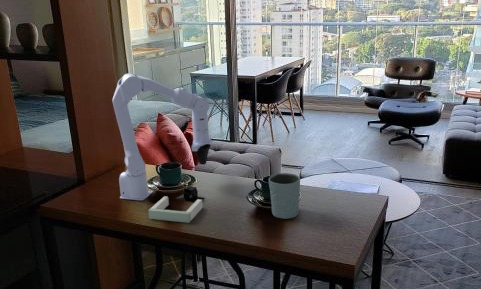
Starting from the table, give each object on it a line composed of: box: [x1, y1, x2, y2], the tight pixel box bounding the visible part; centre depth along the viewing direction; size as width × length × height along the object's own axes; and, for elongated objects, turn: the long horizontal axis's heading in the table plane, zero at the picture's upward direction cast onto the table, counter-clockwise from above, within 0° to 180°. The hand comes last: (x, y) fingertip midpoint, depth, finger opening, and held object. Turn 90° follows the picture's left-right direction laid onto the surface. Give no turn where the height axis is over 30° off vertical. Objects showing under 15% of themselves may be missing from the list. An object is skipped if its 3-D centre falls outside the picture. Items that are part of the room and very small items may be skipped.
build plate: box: [175, 185, 206, 204], centre depth 166 cm, size 12×7×5 cm, turn 56°
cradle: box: [148, 195, 203, 224], centre depth 154 cm, size 14×12×3 cm
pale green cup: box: [268, 172, 301, 220], centre depth 150 cm, size 10×10×12 cm
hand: (203, 163), depth 176 cm, fingers closed
